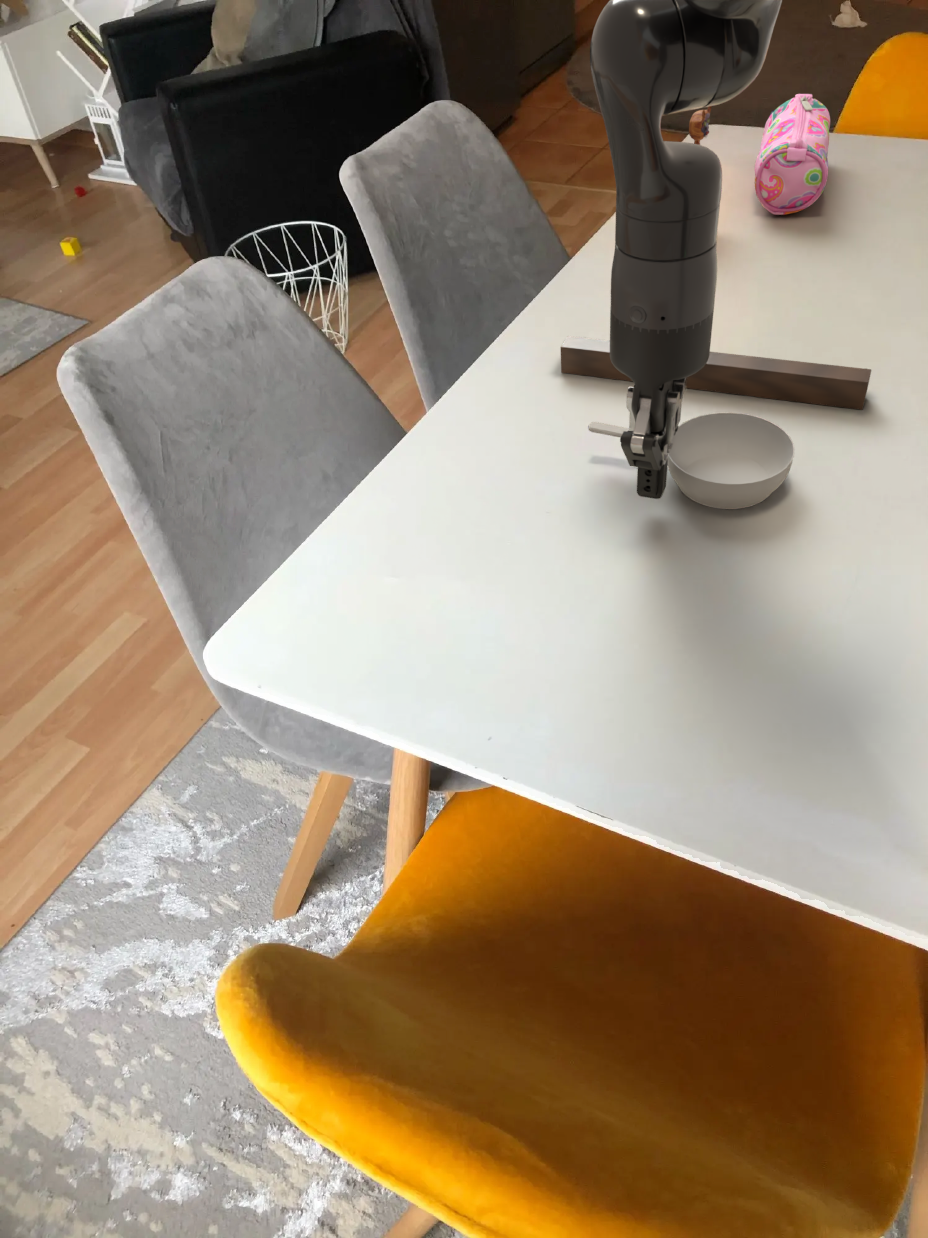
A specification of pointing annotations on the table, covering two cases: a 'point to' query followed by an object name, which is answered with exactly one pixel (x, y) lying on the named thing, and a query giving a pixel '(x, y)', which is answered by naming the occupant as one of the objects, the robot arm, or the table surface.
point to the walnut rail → (739, 375)
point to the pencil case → (793, 156)
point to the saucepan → (725, 458)
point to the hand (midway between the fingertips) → (651, 492)
